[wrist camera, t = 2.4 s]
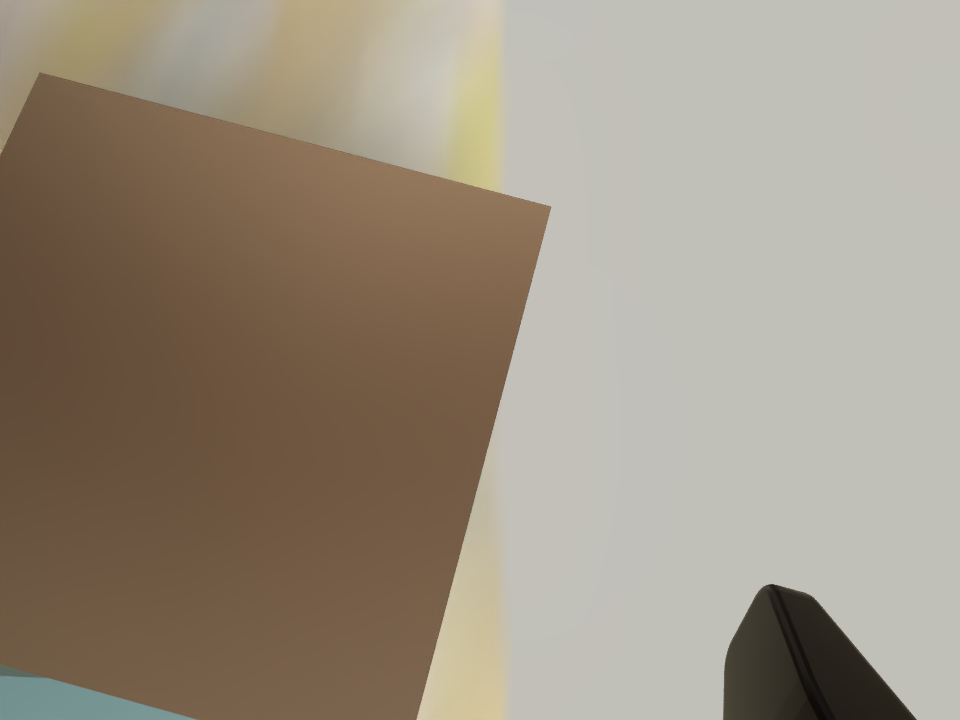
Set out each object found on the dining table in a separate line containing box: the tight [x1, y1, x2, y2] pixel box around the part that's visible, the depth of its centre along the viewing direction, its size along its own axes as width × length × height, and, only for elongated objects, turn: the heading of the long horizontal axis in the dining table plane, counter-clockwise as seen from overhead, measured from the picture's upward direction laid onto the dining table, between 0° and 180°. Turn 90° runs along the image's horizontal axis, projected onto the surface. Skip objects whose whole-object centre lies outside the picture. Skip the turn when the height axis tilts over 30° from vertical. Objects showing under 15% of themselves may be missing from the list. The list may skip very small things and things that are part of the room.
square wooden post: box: [0, 73, 551, 720], centre depth 10 cm, size 4×4×11 cm
